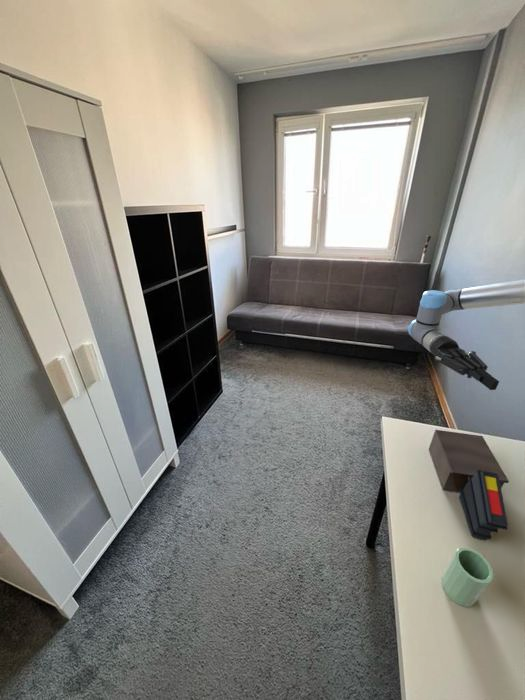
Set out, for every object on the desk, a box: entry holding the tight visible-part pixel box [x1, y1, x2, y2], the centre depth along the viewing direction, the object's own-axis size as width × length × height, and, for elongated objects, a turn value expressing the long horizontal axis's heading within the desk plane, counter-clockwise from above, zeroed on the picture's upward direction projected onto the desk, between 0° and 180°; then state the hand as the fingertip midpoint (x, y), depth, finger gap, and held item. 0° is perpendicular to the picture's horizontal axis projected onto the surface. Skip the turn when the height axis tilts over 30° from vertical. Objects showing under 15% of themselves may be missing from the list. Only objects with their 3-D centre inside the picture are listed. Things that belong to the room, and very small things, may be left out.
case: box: [428, 432, 505, 494], centre depth 80 cm, size 15×13×8 cm
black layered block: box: [458, 470, 509, 541], centre depth 67 cm, size 4×13×15 cm, turn 163°
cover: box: [434, 429, 510, 484], centre depth 78 cm, size 16×13×1 cm
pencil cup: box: [441, 546, 494, 608], centre depth 56 cm, size 6×6×10 cm
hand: (494, 385), depth 75 cm, fingers closed
